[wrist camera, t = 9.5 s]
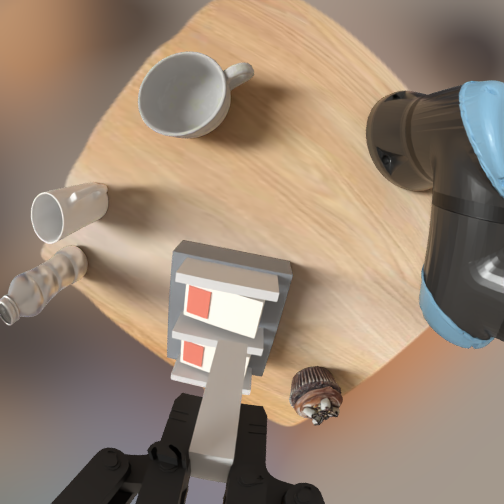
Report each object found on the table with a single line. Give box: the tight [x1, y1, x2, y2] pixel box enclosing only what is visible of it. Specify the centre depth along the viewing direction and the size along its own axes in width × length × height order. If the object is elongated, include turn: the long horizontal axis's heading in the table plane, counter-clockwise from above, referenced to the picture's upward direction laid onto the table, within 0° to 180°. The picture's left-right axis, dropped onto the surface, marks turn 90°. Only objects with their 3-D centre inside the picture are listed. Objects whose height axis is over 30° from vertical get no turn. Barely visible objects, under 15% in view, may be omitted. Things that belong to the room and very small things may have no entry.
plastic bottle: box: [0, 245, 88, 325], centre depth 32 cm, size 6×7×20 cm
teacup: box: [138, 52, 254, 138], centre depth 29 cm, size 14×11×8 cm
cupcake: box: [289, 366, 343, 425], centre depth 44 cm, size 10×10×10 cm
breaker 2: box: [180, 340, 251, 378], centre depth 37 cm, size 10×6×2 cm, turn 79°
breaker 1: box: [184, 284, 265, 338], centre depth 34 cm, size 10×6×2 cm, turn 79°
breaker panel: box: [167, 240, 293, 395], centre depth 38 cm, size 16×19×10 cm
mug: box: [31, 182, 108, 244], centre depth 32 cm, size 10×7×12 cm, turn 114°
